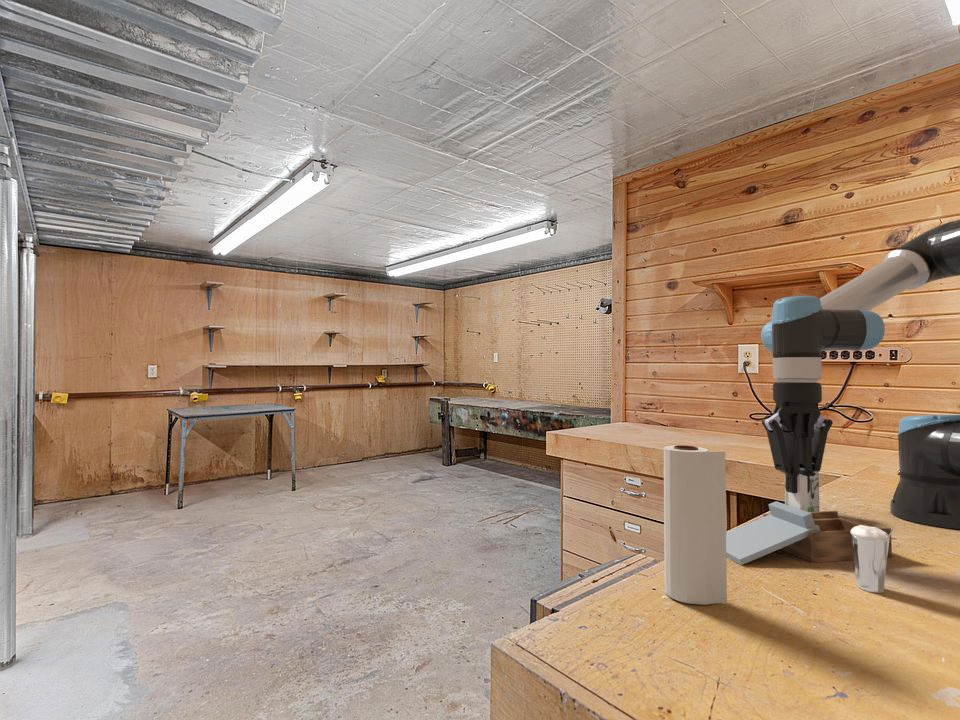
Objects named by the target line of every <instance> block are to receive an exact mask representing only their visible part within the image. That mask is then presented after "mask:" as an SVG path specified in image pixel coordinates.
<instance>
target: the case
mask: <svg viewBox="0 0 960 720" xmlns="http://www.w3.org/2000/svg"><path fill="white" fill-rule="evenodd" d="M809 513H812V517H813V520H814V524H815V525H818V526H819V528H820V531H819V532H809V537H806V538H804V539H802V540H799V541H797V542H795V543H792V544H790V545H787V546H785V547H783V548H780V549H781V550H783V551H784V552H785V551H786V552H788V553H789V554H792V555H794V556H796V557H798V558H800V559H802V560H805V561H807V562H809V563H812V564H814V563H826V562H827V563H829V562H841V561H843V562H845V561H854V554H853V547H852V540H851V532H850V531H851V529H852V528H853V527H855V526H859V525H863V524H862V523H858V522H856V521H852V520H849V519H846V518H843V517H840V516H839V511H837V510H828V511H819V512H809ZM769 514H770V513H765V514H763V515H762V517H764V516H767V515H769ZM877 528H878V529H880V530H882V531H884V532H886V533H887V534H888V535H889V534H890V532H891V531H892V528H890V527H877ZM892 548H893V547H892V534H891V535H890V537H889V547H888V555H887V559H888V558H892V557H893V555H892V552H893V550H892Z"/></svg>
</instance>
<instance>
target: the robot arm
mask: <svg viewBox="0 0 960 720" xmlns="http://www.w3.org/2000/svg"><path fill="white" fill-rule="evenodd" d="M958 276H960V219H957V220H954V221H953V220H952V221H949V222H946V223H942V224H940V225H937V226H935V227H933V228H931V229H928V230H927V231H924V232H923V233H921V234H919V235H917V236H915V237H914V238H912V239H911V240H909V241H906V242H905V243H904V244H902V245H901V246H899V247H897V248H895V249H893V250H891V251H890V252H888V253H887V254H886V255H885V256H884V257H883V258H882V261H881V263H879V264H877V265H875V266H873V267H872V268H870V269H868V270H867V271H865V272H862V273H861V274H859V275H858V276H856V277H855V278H853V279H851V280H849V281H847V282H846V283H844V284H842V285H841V286H838V287H837V288H835V289H834V290H832V291H830V292H829V293H827V294H825V295H823V296H822V297H820V298H819V297H818V296H814V295H797V296H787V297H782V298H779V299H776V300H775V301H774V303H773V307H772V312H771V313H772V314H771V315H772V316H771V320H770V321H768V322H766V324H765V325H764V326H763V327H762V329H761V333H760V339H761V342H762V345H763V346H764V347H765V349H766V350H768V351H769V352H771V353H772V378H773V379H774V380H776V381H774V382H773V383H772V400H773V401H774V403H775V407H774V409H773V415H771V416H770V417H769V418H762V420H761V424H762V426H763V428H764V429H765V431H766V434H767V440H768V443H769V447H770V452H771V456H772V461H773V465H774V468H775V470H777V471H780V472H781V473H783V474H784V477H785V476H786V491H787V492H788V503H789V506H792V507H795V508H797V509H800V510H803V511H806V512H808V497H807V493H809V491H810V476H815V474H816V473H813V472H815V471H816V472H820V471H821V468H822V463H823V458H824V454H825V450H826V449H825V448H826V444H827V439H828V433H829V431H830V429H831V427H832V425H833V420H832V419H829V418H825V417H824V416H822V415H821V413H822V412H821V410H820V408H819V404H820V403H822V401H823V397H822V395H823V390H822V389H823V388H822V387H823V385H822V384H821V383H820V382H819V381H820V380H822V379H823V378H822V377H823V376H822V375H823V374H822V352H829V351H830V352H831V351H852V352H858V351H865V350H866V351H868V350H871V349H874V348H876V347H877V346H878V345H880V343H881V342H882V340H883V339H884V337H885V332H886V331H885V330H886V327H885V326H886V325H885V322H884V320H883V318H882V317H881V315H879V314H878V313H877V312H874V311H873V310H874V309H875V308H876V307H879V306H880V305H882V304H883V303H885V302H887V301H889V300H891V299H892V298H894V297H895V296H897V295H899V294H901V293H902V292H904V291H905V290H907V291H908V290H916V289H919V288H921V287H922V286H924V285H926V284H928V283H931V282H935V281H938V280H943V279H947V278H952V277H958ZM871 310H872V311H871ZM898 423H899V424H898V432H897V437H898V438H897V440H898V443H897V444H898V462H899V463H898V464H899V482H898V483H897V486H896V489H895V491H894V493H893V496H892V499H891V500H890V502H889V503H890V506H889V507H890V508H889V509H890V513H891V514H892V515H893V516H895V517H897V518H899V519H903V520H904V521H905V520H906V521H909V522H914V523H918V524H922V525H926V526H927V525H928V526H933V527H940V528H946V529H955V530H960V414H929V415H927V414H926V415H925V414H924V415H908V416H904V417H902V418H901V419H900V421H899V422H898ZM813 463H814V464H813Z"/></svg>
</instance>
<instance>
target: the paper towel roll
mask: <svg viewBox="0 0 960 720" xmlns="http://www.w3.org/2000/svg"><path fill="white" fill-rule="evenodd" d="M726 475H727V474H726V451H710V450H709V449H708V448H705V447H701V446H695V445H694V446H693V445H683V444H682V445H680V444H679V445H666V446H663V527H664V528H663V535H664V537H663V542H664V544H663V547H664V548H663V550H664V553H663V554H664V555H663V556H664V557H663V558H664V560H663V561H664V591H665V594H666V595H667V596H668V597H669V598H671V599H673V600H676V601H678V602H680V603H684V604H691V605H703V606H704V605H705V606H708V605H713V604H726V605H727V603H728V597H727V596H728V593H727V589H728V588H727V587H728V585H727V580H728V579H727V577H728V576H727V557H726V532H727V499H726V498H727V495H726V493H727V492H726V491H727V490H726V489H727V487H726V478H727V477H726Z"/></svg>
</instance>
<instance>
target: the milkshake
mask: <svg viewBox="0 0 960 720" xmlns="http://www.w3.org/2000/svg"><path fill="white" fill-rule="evenodd" d="M892 527H893V528H891V532H890V534H889V535H888V534H887V533H886V532H884V531H882V530H880V529H878V528H879V527H876V526H869V525H865V524H862V525H859V526H855V527H853V528H852V529H851V531H850V532H851V540H852V547H853V554H854V560H853V562H854V573H855V582H856V587H858V588H859V589H860V590H863V591H866V592H868V593H874V594H882V593H885V588H886V573H887V563H888V562H887V560H888V558H887V555H888V547H889V537H890V535H891V536H892V533H893V532H894V530H895V528H896V526H892Z"/></svg>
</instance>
